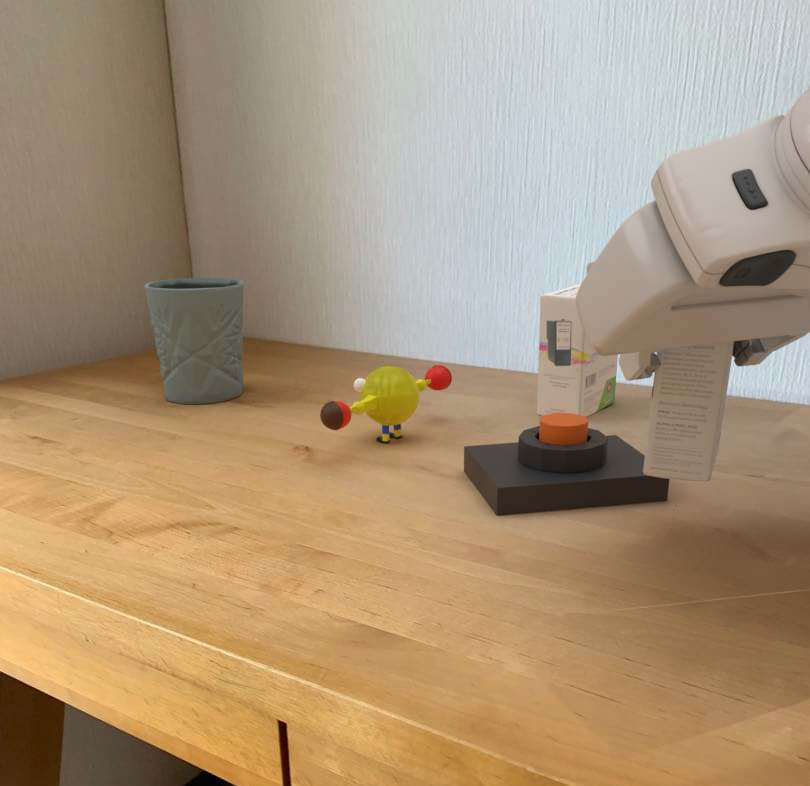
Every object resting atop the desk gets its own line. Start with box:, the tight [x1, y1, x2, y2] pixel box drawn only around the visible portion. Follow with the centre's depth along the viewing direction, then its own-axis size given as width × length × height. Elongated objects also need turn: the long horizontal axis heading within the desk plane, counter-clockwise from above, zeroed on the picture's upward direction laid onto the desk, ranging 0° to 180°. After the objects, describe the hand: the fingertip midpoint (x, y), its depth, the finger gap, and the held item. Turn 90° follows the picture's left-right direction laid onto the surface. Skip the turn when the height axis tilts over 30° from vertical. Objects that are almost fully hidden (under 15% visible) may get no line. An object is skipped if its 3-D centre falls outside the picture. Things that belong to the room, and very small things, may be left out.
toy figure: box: [319, 364, 453, 445], centre depth 79 cm, size 18×6×7 cm, turn 145°
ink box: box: [536, 260, 619, 418], centre depth 85 cm, size 9×5×15 cm, turn 144°
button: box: [539, 413, 589, 445], centre depth 66 cm, size 4×4×2 cm
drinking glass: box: [143, 277, 245, 405], centre depth 95 cm, size 10×10×12 cm
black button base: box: [463, 425, 671, 517], centre depth 67 cm, size 13×10×4 cm
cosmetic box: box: [643, 341, 734, 483], centre depth 55 cm, size 6×4×12 cm
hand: (687, 363), depth 55 cm, fingers closed on cosmetic box, 7 cm apart
